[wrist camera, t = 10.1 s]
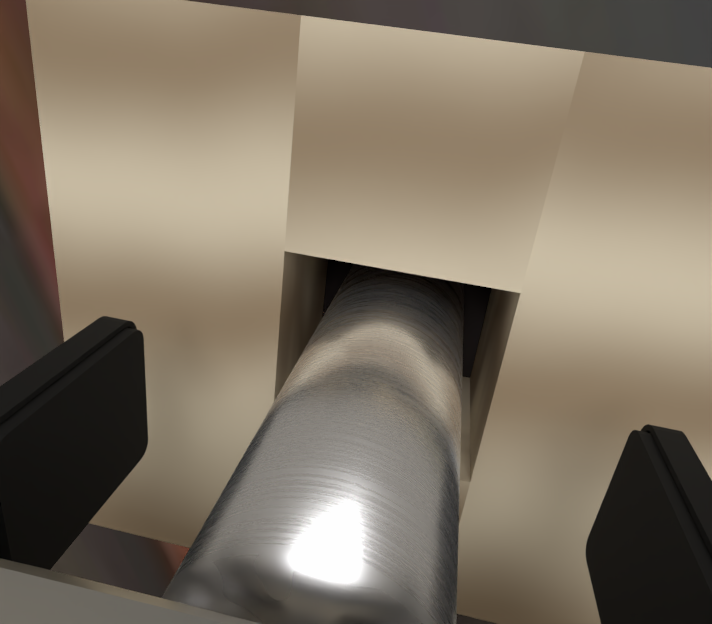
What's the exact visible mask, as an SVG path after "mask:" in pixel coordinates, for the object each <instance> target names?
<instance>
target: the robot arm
mask: <svg viewBox="0 0 712 624" xmlns="http://www.w3.org/2000/svg"><path fill="white" fill-rule="evenodd" d="M147 445H148V423H147V401H146V378H145V356H144V337H143V333H142V332H141V331H140V330H137V328H136V325H135V323H133V322H132V321H128V320H123V319H118V318H113V317H108V316H102V317H100V318H98V319H97V320H95V321H94V322H93V323H91V324H90V325H88V326H87V327H85V328H84V329H82V330H81V331H80V332H78V333H77V334H75V335H74V336H72V337H71V338H69V339H68V340H67V341H65V342H64V343H62V344H61V345H59V346H58V347H56V348H55V349H54V350H52V351H51V352H49V353H48V354H46V355H45V356H44V357H42V358H41V359H39V360H38V361H36V362H35V363H33V364H32V365H31V366H29V367H28V368H26V369H25V370H23V371H22V372H20V373H19V374H18V375H16V376H15V377H13V378H12V379H10V380H9V381H7V382H6V383H5V384H3V385H2V386H0V624H260V623H256V622H253V621H249V620H245V619H241V618H237V617H233V616H229V615H225V614H222V613H218V612H214V611H210V610H206V609H202V608H198V607H194V606H190V605H186V604H182V603H179V602H175V601H171V600H167V599H163V598H159V597H155V596H151V595H147V594H143V593H139V592H135V591H131V590H127V589H123V588H119V587H115V586H111V585H107V584H103V583H99V582H95V581H91V580H87V579H83V578H79V577H75V576H71V575H67V574H63V573H59V572H55V571H51V570H50V569H51V568H52V567H53V565H54V564H55V563H56V562H57V561H58V559H59V558H60V557H61V556H62V555H63V553H64V552H65V551H66V550H67V548H68V547H69V546H70V545H71V544H72V542H73V541H74V540H75V539H76V538H77V536H78V535H79V534H80V533H81V532H82V530H83V529H84V528H85V527H86V525H87V524H88V523H89V522H90V521H91V519H92V518H93V517H94V516H95V515H96V513H97V512H98V511H99V510H100V508H101V507H102V506H103V505H104V504H105V502H106V501H107V500H108V499H109V498H110V496H111V495H112V494H113V493H114V492H115V490H116V489H117V488H118V487H119V485H120V484H121V483H122V482H123V481H124V479H125V478H126V477H127V476H128V475H129V473H130V472H131V471H132V470H133V469H134V467H135V466H136V465H137V464H138V462H139V461H140V460H141V459H142V457H143V456H144V454H145V452H146V449H147ZM586 562H587V566H588V570H589V574H590V579H591V583H592V587H593V592H594V596H595V600H596V604H597V609H598V613H599V617H600V622H601V624H712V480H711V478H710V477H709V475H708V473H707V471H706V470H705V468H704V466H703V464H702V463H701V461H700V459H699V458H698V456H697V454H696V452H695V451H694V449H693V447H692V445H691V444H690V442H689V440H688V439H687V437H686V435H685V434H684V433H683V432H682V431H679V430H674V429H669V428H664V427H659V426H654V425H649V424H647V425H645V426H644V427H643V428H642V429H641V431H638V430H633V431H632V432H631V433H630V435H629V437H628V439H627V442H626V444H625V447H624V449H623V452H622V454H621V457H620V459H619V462H618V464H617V467H616V469H615V471H614V474H613V476H612V479H611V481H610V484H609V486H608V489H607V491H606V494H605V496H604V499H603V501H602V504H601V506H600V509H599V511H598V514H597V516H596V519H595V521H594V524H593V526H592V529H591V531H590V534H589V536H588V539H587V543H586Z"/></svg>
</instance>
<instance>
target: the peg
mask: <svg viewBox="0 0 712 624" xmlns="http://www.w3.org/2000/svg"><path fill="white" fill-rule="evenodd" d="M463 328H464V283H461V282H455V281H449V280H444V279H438V278H432V277H427V276H421V275H416V274H410V273H404V272H399V271H393V270H388V269H382V268H376V267H371V266H365V265H360V264H353V265H352V267H351V269H350V271H349V272H348V274H347V276H346V278H345V279H344V281H343V283H342V284H341V286H340V288H339V290H338V291H337V293H336V295H335V297H334V298H333V300H332V302H331V304H330V305H329V307H328V309H327V311H326V312H325V314H324V316H323V318H322V319H321V321H320V323H319V325H318V326H317V328H316V330H315V331H314V333H313V335H312V337H311V338H310V340H309V342H308V344H307V345H306V347H305V349H304V351H303V352H302V354H301V356H300V358H299V359H298V361H297V363H296V365H295V366H294V368H293V370H292V372H291V373H290V375H289V377H288V379H287V380H286V382H285V384H284V385H283V387H282V389H281V391H280V392H279V394H278V396H277V398H276V399H275V401H274V403H273V405H272V406H271V408H270V410H269V412H268V413H267V415H266V417H265V419H264V420H263V422H262V424H261V426H260V427H259V429H258V431H257V433H256V434H255V436H254V438H253V439H252V441H251V443H250V445H249V446H248V448H247V450H246V452H245V453H244V455H243V457H242V459H241V460H240V462H239V464H238V466H237V467H236V469H235V471H234V473H233V474H232V476H231V478H230V480H229V481H228V483H227V485H226V487H225V488H224V490H223V492H222V493H221V495H220V497H219V499H218V500H217V502H216V504H215V506H214V507H213V509H212V511H211V513H210V514H209V516H208V518H207V520H206V521H205V523H204V525H203V527H202V528H201V530H200V532H199V534H198V535H197V537H196V539H195V540H194V542H193V544H192V546H191V547H190V549H189V551H188V553H187V554H186V556H185V558H184V560H183V561H182V563H181V565H180V567H179V568H178V570H177V572H176V574H175V575H174V577H173V579H172V581H171V582H170V584H169V586H168V588H167V589H166V591H165V593H164V594H163V596H162V598H163V599H167V600H171V601H175V602H179V603H182V604H186V605H190V606H194V607H198V608H202V609H206V610H210V611H214V612H218V613H222V614H225V615H229V616H233V617H237V618H241V619H245V620H249V621H253V622H256V623H260V624H456V617H457V576H458V535H459V493H460V452H461V411H462V370H463Z"/></svg>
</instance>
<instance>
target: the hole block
mask: <svg viewBox="0 0 712 624" xmlns="http://www.w3.org/2000/svg"><path fill="white" fill-rule="evenodd" d="M26 6H27V15H28V24H29V32H30V41H31V50H32V59H33V68H34V77H35V86H36V95H37V103H38V112H39V121H40V130H41V139H42V148H43V157H44V166H45V174H46V183H47V192H48V201H49V210H50V219H51V228H52V237H53V245H54V254H55V263H56V272H57V281H58V290H59V299H60V308H61V316H62V325H63V334H64V342H65V341H67V340H68V339H69V338H71V337H72V336H74V335H75V334H77V333H78V332H80V331H81V330H82V329H84V328H85V327H87V326H88V325H90V324H91V323H93V322H94V321H95V320H97V319H98V318H100V317H102V316H108V317H113V318H118V319H123V320H128V321H132V322H133V323H135V325H136V328H137V330H140V331H141V332H142V333H143V337H144V356H145V378H146V401H147V423H148V445H147V449H146V452H145V454H144V456H143V457H142V459H141V460H140V461H139V462H138V464H137V465H136V466H135V467H134V469H133V470H132V471H131V472H130V473H129V475H128V476H127V477H126V478H125V479H124V481H123V482H122V483H121V484H120V485H119V487H118V488H117V489H116V490H115V492H114V493H113V494H112V495H111V496H110V498H109V499H108V500H107V501H106V502H105V504H104V505H103V506H102V507H101V508H100V510H99V511H98V512H97V513H96V515H95V516H94V517H93V518H92V519H91V521H90V522H89V523H90V524H94V525H98V526H102V527H107V528H111V529H115V530H119V531H123V532H127V533H131V534H135V535H139V536H143V537H147V538H151V539H155V540H159V541H164V542H168V543H172V544H176V545H180V546H184V547H188V548H190V547H191V546H192V544H193V542H194V540H195V539H196V537H197V535H198V534H199V532H200V530H201V528H202V527H203V525H204V523H205V521H206V520H207V518H208V516H209V514H210V513H211V511H212V509H213V507H214V506H215V504H216V502H217V500H218V499H219V497H220V495H221V493H222V492H223V490H224V488H225V487H226V485H227V483H228V481H229V480H230V478H231V476H232V474H233V473H234V471H235V469H236V467H237V466H238V464H239V462H240V460H241V459H242V457H243V455H244V453H245V452H246V450H247V448H248V446H249V445H250V443H251V441H252V439H253V438H254V436H255V434H256V433H257V431H258V429H259V427H260V426H261V424H262V422H263V420H264V419H265V417H266V415H267V413H268V412H269V410H270V408H271V406H272V405H273V403H274V401H275V399H276V398H277V396H278V394H279V392H280V391H281V389H282V387H283V385H284V384H285V382H286V380H287V379H288V377H289V375H290V373H291V372H292V370H293V368H294V366H295V365H296V363H297V361H298V359H299V358H300V356H301V354H302V352H303V351H304V349H305V347H306V345H307V344H308V342H309V340H310V338H311V337H312V335H313V333H314V331H315V330H316V328H317V326H318V325H319V323H320V321H321V319H322V315H323V305H324V296H325V286H326V277H327V267H328V259H331V260H337V261H343V262H348V263H354V264H360V265H365V266H371V267H376V268H382V269H388V270H393V271H399V272H404V273H410V274H416V275H421V276H427V277H432V278H438V279H444V280H449V281H455V282H461V283H466V284H472V285H477V286H483V287H489V288H492V289H491V293H490V297H489V301H488V306H487V310H486V314H485V318H484V322H483V326H482V330H481V335H480V339H479V343H478V347H477V351H476V355H475V359H474V364H473V368H472V372H471V376H470V378H468V377H463V376H462V411H461V452H460V493H459V535H458V576H457V614H461V615H465V616H469V617H473V618H477V619H481V620H485V621H489V622H493V623H497V624H601V622H600V617H599V613H598V609H597V604H596V600H595V596H594V592H593V587H592V583H591V579H590V574H589V570H588V566H587V562H586V543H587V539H588V536H589V534H590V531H591V529H592V526H593V524H594V521H595V519H596V516H597V514H598V511H599V509H600V506H601V504H602V501H603V499H604V496H605V494H606V491H607V489H608V486H609V484H610V481H611V479H612V476H613V474H614V471H615V469H616V467H617V464H618V462H619V459H620V457H621V454H622V452H623V449H624V447H625V444H626V442H627V439H628V437H629V435H630V433H631V432H632V431H633V430H638V431H641V429H642V428H643V427H644V426H645V425H647V424H649V425H654V426H659V427H664V428H669V429H674V430H679V431H682V432H683V433H684V434H685V435H686V437H687V439H688V440H689V442H690V444H691V445H692V447H693V449H694V451H695V452H696V454H697V456H698V458H699V459H700V461H701V463H702V464H703V466H704V468H705V470H706V471H707V473H708V475H709V477H710V478H711V480H712V68H707V67H699V66H692V65H684V64H676V63H668V62H660V61H653V60H645V59H637V58H629V57H621V56H614V55H606V54H598V53H590V52H582V51H575V50H567V49H559V48H551V47H543V46H536V45H528V44H520V43H512V42H504V41H497V40H489V39H481V38H473V37H465V36H458V35H450V34H442V33H434V32H426V31H419V30H411V29H403V28H395V27H387V26H380V25H372V24H364V23H356V22H348V21H340V20H333V19H325V18H317V17H309V16H301V15H294V14H286V13H278V12H270V11H262V10H255V9H247V8H239V7H231V6H223V5H216V4H208V3H200V2H192V1H184V0H26Z"/></svg>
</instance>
